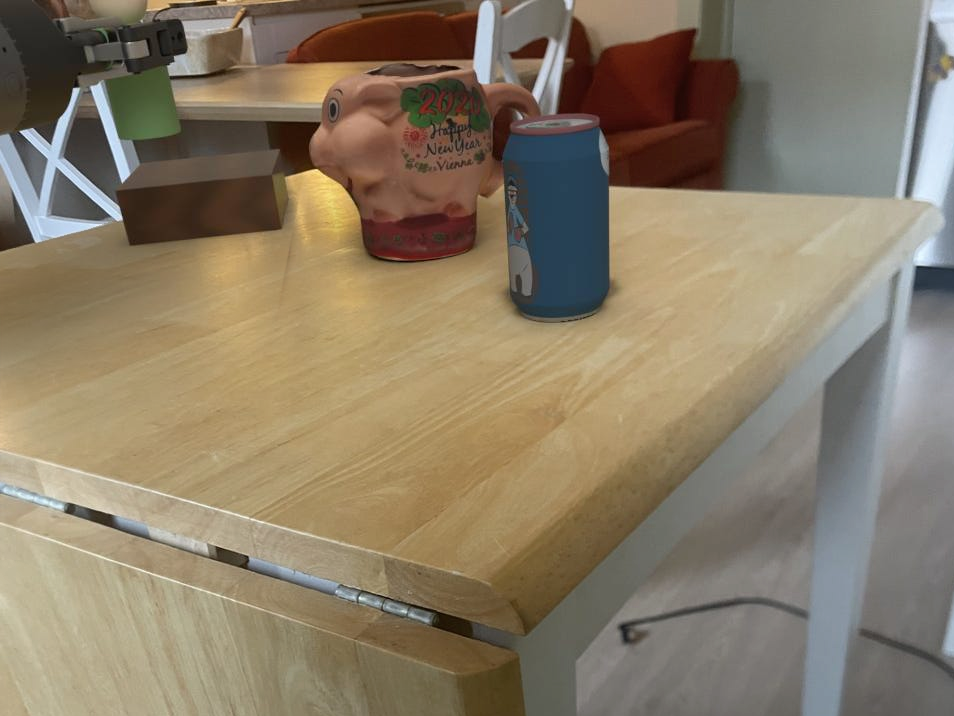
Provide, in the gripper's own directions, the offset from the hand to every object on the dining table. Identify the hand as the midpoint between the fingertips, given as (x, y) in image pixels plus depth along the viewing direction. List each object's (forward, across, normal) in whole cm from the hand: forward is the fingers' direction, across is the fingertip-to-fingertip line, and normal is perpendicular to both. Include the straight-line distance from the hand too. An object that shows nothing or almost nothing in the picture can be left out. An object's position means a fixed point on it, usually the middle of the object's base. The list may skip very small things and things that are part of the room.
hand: (151, 37), depth 74 cm
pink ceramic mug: (+14, -15, +18) cm, 27 cm away
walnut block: (+16, +11, +18) cm, 26 cm away
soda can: (-1, -32, +18) cm, 36 cm away
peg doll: (-3, 0, +6) cm, 7 cm away
